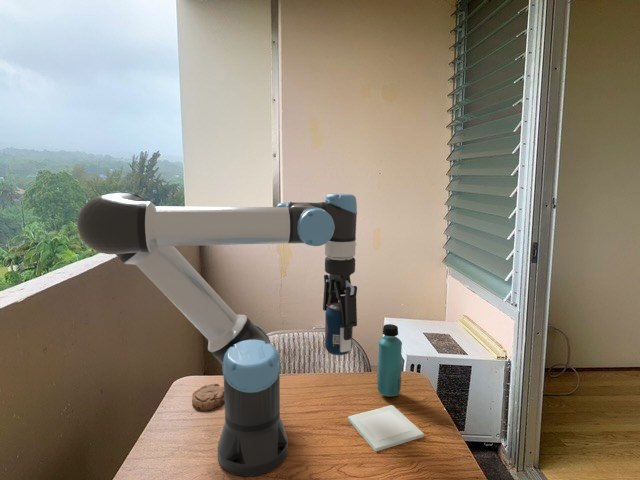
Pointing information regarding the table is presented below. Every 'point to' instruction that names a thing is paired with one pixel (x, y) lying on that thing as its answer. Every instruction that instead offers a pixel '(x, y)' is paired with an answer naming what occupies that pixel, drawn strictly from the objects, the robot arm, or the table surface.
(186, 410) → the table surface
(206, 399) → the cookie
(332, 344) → the soda can
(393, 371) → the beverage bottle
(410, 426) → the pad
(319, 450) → the table surface
